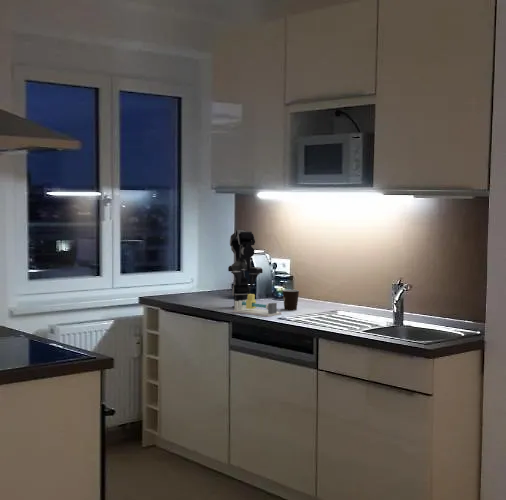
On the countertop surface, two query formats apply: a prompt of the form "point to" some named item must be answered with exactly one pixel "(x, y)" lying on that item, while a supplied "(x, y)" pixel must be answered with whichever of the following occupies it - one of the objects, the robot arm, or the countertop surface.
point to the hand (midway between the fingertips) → (245, 286)
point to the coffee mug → (290, 299)
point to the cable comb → (251, 310)
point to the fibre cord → (270, 307)
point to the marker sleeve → (250, 301)
